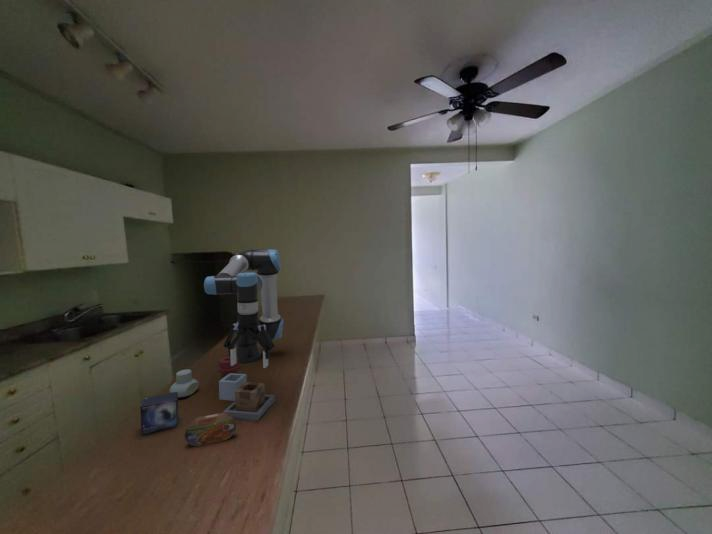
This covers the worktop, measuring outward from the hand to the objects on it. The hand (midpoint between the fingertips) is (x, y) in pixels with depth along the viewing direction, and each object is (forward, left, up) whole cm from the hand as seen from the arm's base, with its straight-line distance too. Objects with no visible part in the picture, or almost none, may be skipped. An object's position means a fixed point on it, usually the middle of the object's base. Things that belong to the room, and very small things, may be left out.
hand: (249, 365), depth 110 cm
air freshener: (-7, -35, -18) cm, 40 cm away
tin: (+19, -3, -18) cm, 26 cm away
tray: (0, 0, -18) cm, 18 cm away
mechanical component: (-20, -22, -18) cm, 34 cm away
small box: (+15, -26, -18) cm, 35 cm away
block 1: (-9, -13, -18) cm, 24 cm away
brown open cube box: (0, 0, -17) cm, 17 cm away
